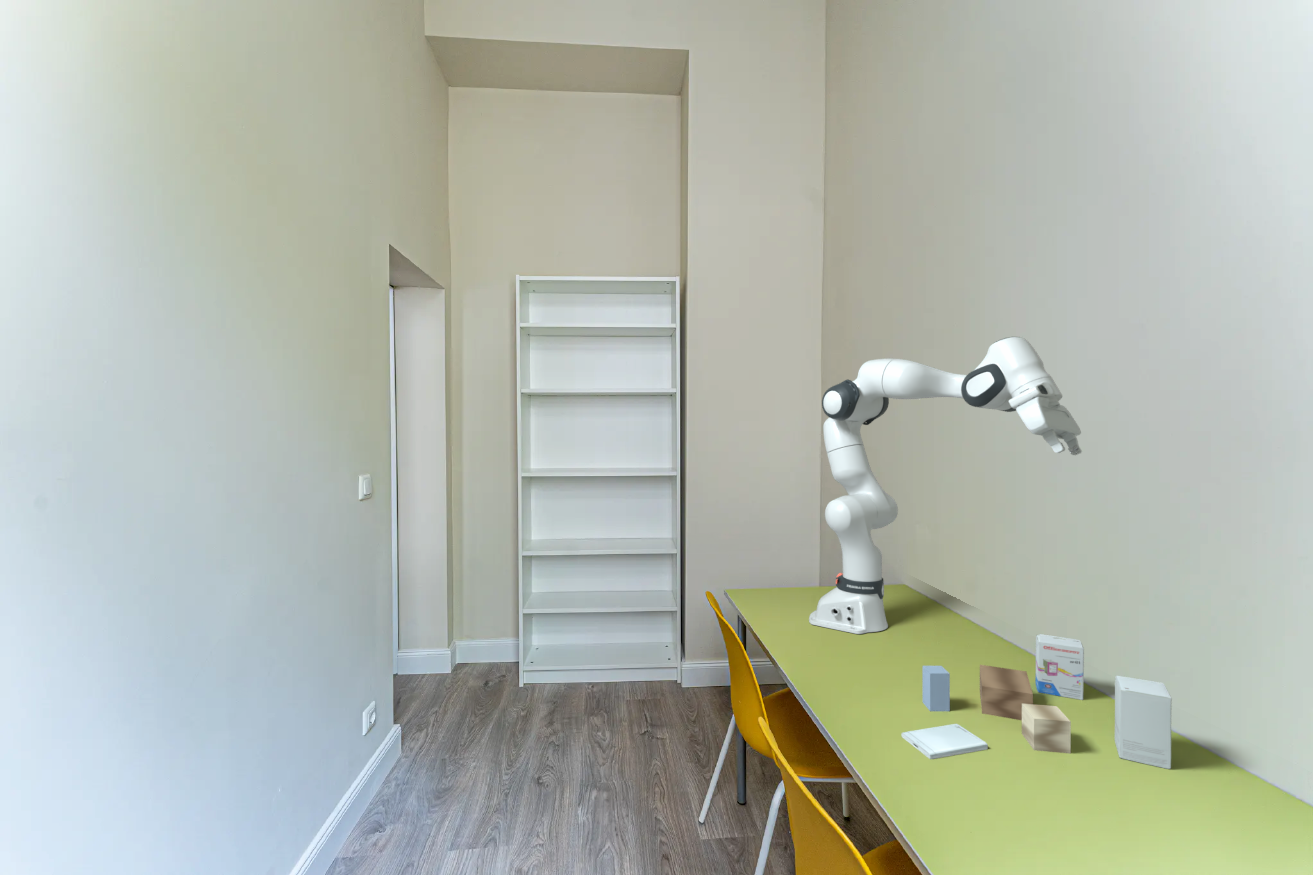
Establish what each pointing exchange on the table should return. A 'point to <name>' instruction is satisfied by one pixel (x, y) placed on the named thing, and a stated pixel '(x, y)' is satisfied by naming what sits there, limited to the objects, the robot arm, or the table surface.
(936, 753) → the hard drive
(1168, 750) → the supplement box
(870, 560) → the robot arm
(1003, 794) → the table surface
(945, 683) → the slate post
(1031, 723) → the maple cube
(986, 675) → the walnut block
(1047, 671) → the ink box
